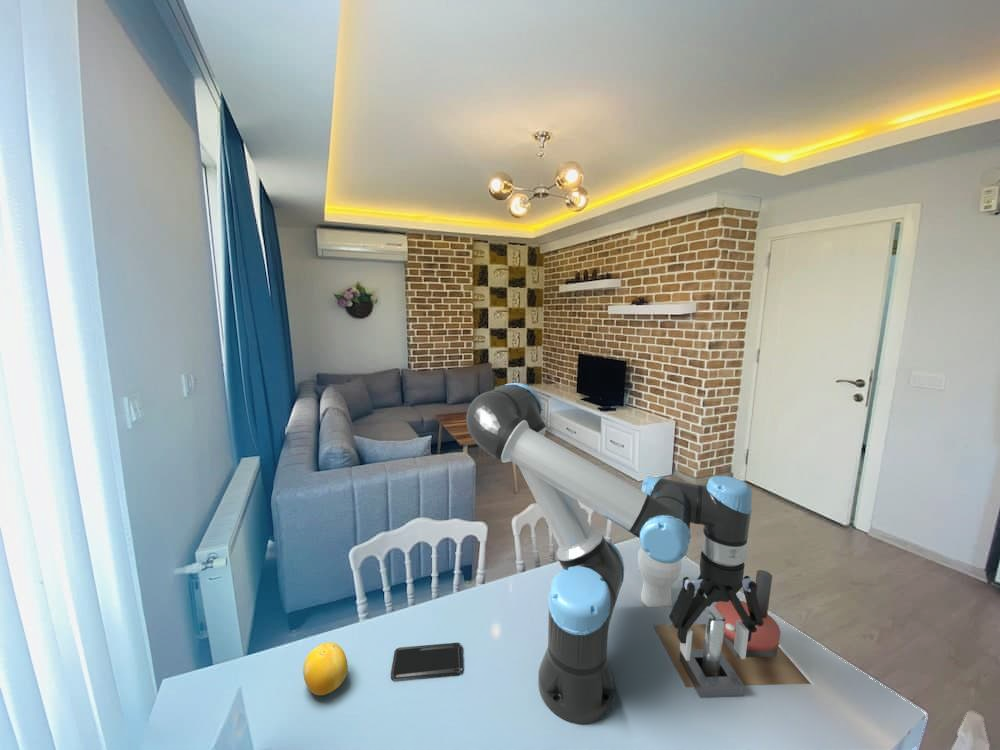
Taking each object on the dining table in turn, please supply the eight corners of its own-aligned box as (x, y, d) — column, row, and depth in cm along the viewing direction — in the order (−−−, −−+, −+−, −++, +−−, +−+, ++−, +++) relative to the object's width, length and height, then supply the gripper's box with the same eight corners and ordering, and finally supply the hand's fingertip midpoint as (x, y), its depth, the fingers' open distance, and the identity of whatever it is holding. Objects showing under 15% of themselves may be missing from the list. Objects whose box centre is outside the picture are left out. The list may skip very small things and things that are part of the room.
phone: (462, 672, 85) (389, 678, 83) (462, 676, 85) (390, 683, 84) (461, 641, 93) (395, 647, 91) (461, 646, 93) (395, 651, 91)
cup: (670, 588, 112) (674, 539, 110) (683, 617, 102) (688, 563, 99) (631, 585, 113) (634, 536, 111) (640, 613, 103) (644, 560, 100)
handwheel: (700, 617, 95) (705, 571, 93) (736, 600, 101) (741, 556, 99) (755, 660, 84) (762, 608, 82) (792, 638, 89) (799, 589, 87)
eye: (700, 697, 79) (701, 686, 79) (679, 659, 88) (680, 649, 87) (742, 696, 79) (744, 685, 79) (718, 658, 88) (719, 648, 88)
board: (685, 693, 82) (687, 674, 81) (652, 630, 97) (654, 614, 97) (809, 689, 83) (812, 670, 82) (757, 628, 98) (759, 612, 98)
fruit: (357, 679, 84) (355, 645, 83) (323, 712, 77) (320, 676, 76) (329, 660, 89) (327, 628, 87) (295, 690, 82) (292, 655, 80)
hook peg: (706, 684, 82) (713, 620, 80) (693, 663, 87) (699, 601, 84) (721, 684, 82) (729, 619, 80) (708, 662, 87) (714, 601, 85)
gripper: (673, 569, 75) (664, 671, 79) (794, 567, 76) (780, 668, 79) (656, 545, 82) (648, 640, 86) (767, 544, 83) (755, 638, 87)
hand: (712, 654), depth 83 cm, fingers open, 11 cm apart
